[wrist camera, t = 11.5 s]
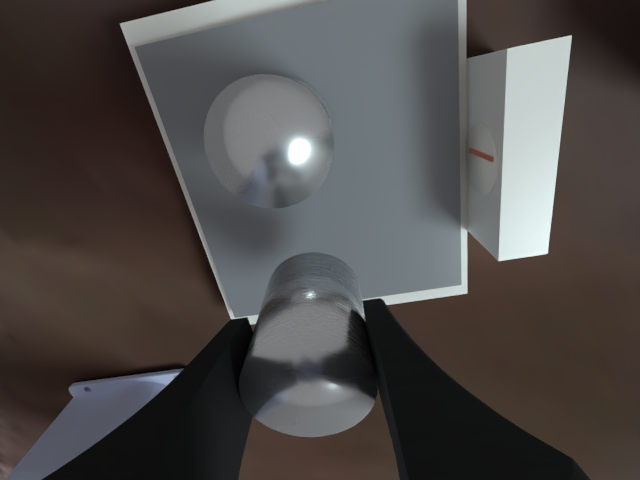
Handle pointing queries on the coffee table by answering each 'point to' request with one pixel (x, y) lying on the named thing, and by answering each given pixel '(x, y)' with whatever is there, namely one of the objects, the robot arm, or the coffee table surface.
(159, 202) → the coffee table surface
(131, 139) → the coffee table surface
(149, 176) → the coffee table surface
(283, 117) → the cylinder
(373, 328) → the robot arm
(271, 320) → the cylinder
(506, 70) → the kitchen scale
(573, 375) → the coffee table surface
